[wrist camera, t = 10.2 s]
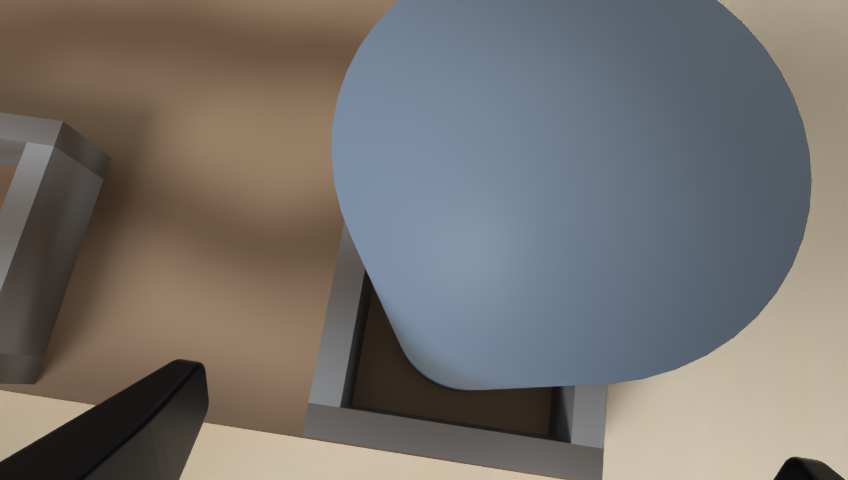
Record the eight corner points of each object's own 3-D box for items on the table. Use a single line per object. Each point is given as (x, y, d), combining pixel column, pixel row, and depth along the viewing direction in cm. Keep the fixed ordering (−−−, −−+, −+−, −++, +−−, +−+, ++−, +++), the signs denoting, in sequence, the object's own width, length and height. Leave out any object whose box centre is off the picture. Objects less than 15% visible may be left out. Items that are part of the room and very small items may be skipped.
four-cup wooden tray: (561, 470, 18) (613, 498, 13) (-134, 360, 19) (-328, 348, 14) (602, -99, 24) (648, -221, 19) (86, -162, 25) (7, -294, 20)
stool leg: (411, 403, 16) (376, 437, 4) (386, 273, 17) (299, -17, 5) (542, 375, 16) (893, 323, 4) (509, 248, 17) (713, -85, 5)
